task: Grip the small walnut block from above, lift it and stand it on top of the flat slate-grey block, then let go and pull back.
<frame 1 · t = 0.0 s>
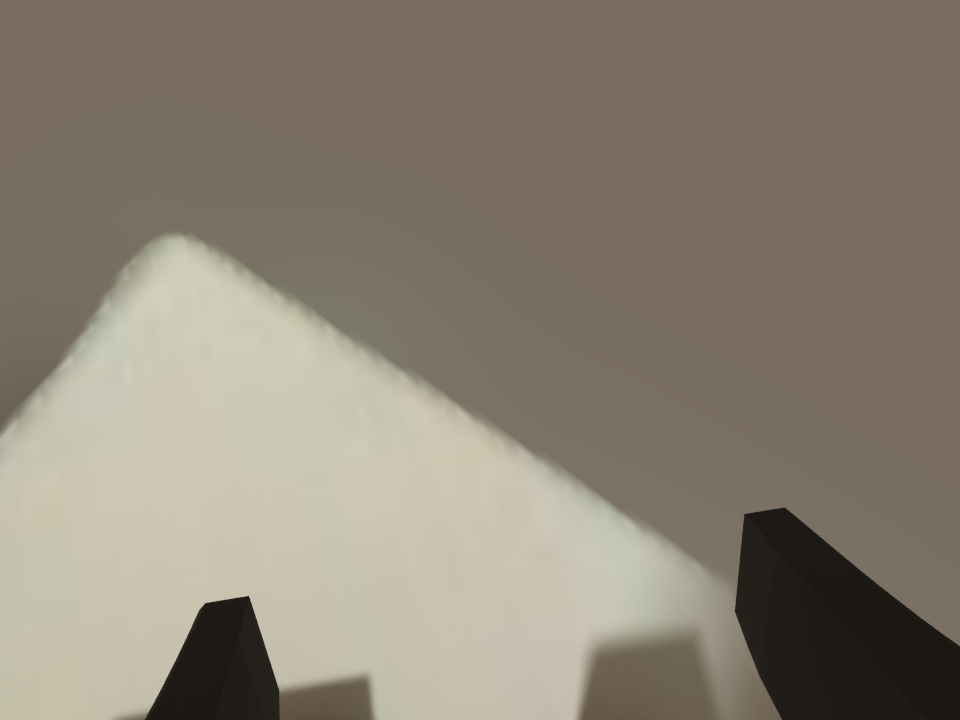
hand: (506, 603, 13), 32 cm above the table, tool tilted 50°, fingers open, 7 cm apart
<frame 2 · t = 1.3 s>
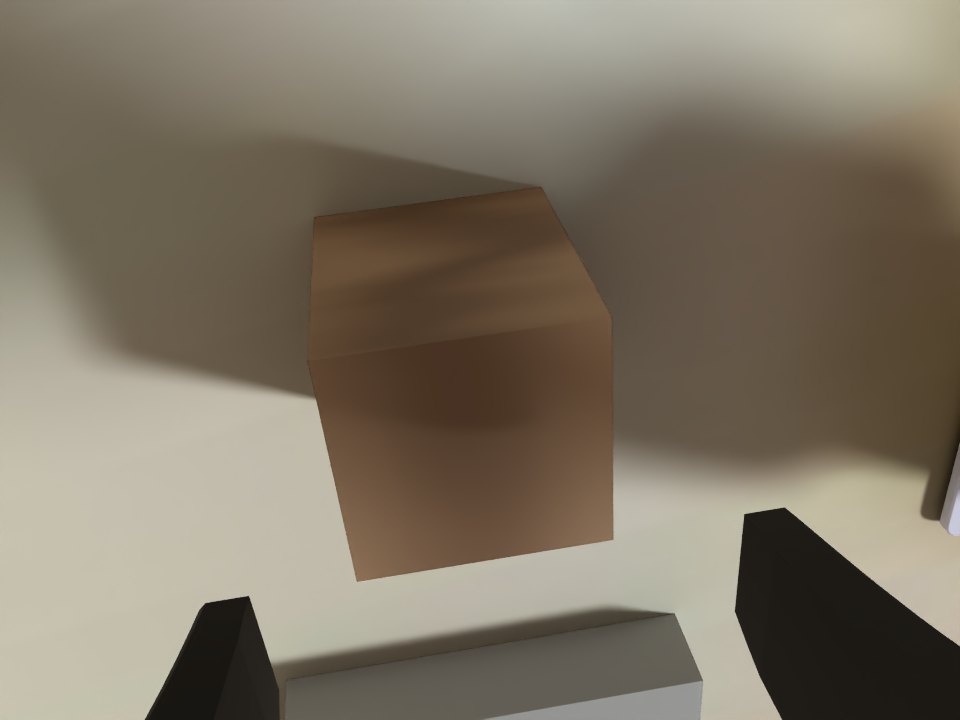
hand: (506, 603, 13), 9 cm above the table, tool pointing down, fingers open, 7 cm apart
walnut block: (440, 301, 21), on the table
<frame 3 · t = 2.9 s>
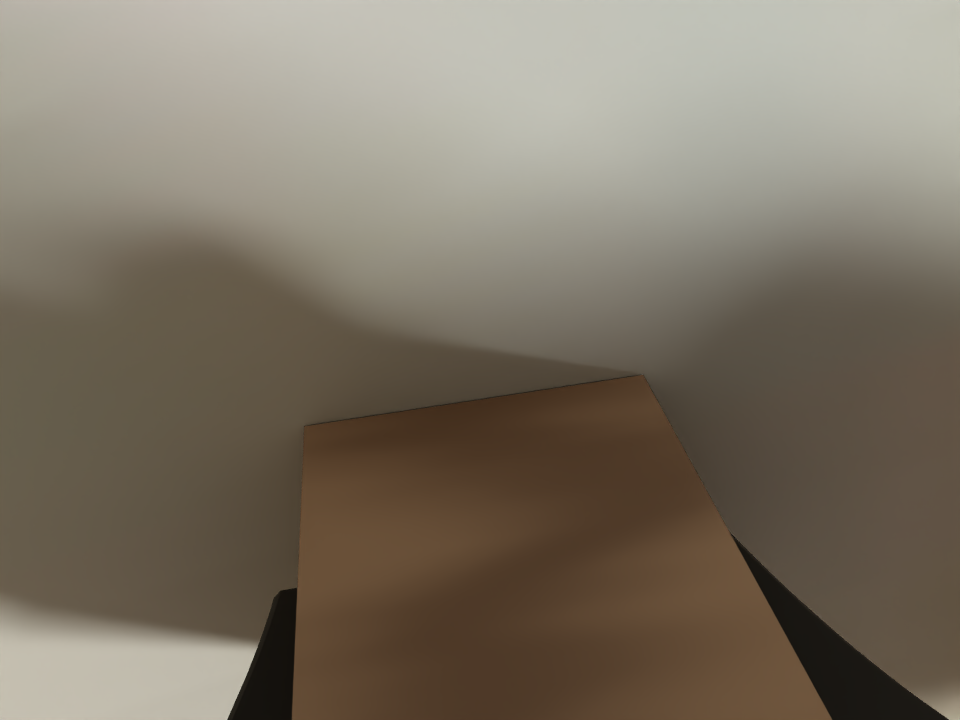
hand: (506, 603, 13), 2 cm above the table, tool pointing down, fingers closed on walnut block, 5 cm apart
walnut block: (489, 527, 14), on the table, touching gripper
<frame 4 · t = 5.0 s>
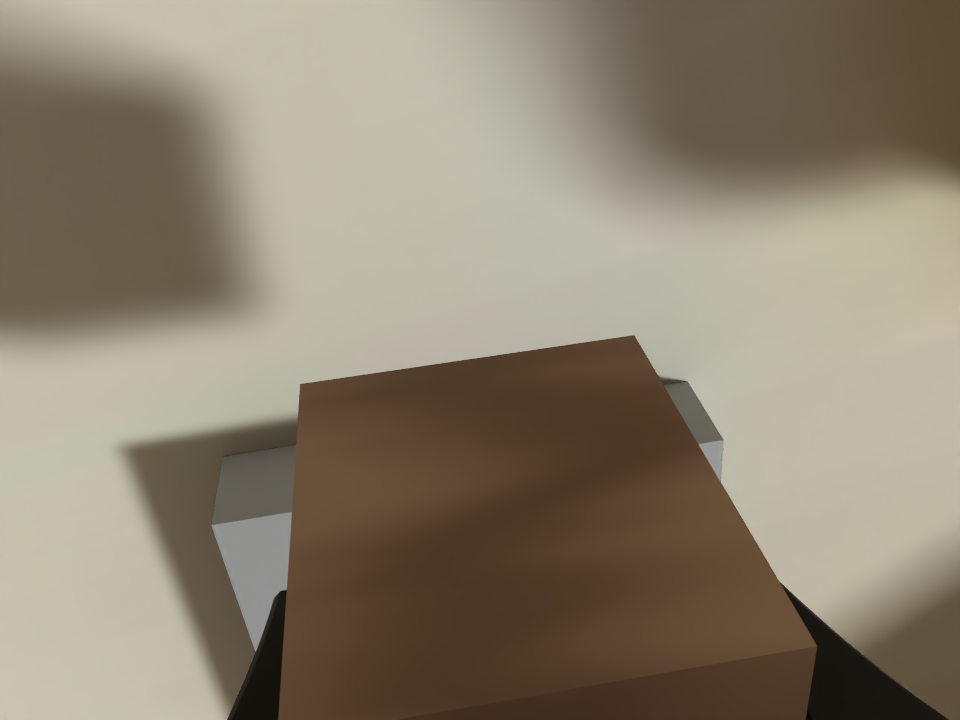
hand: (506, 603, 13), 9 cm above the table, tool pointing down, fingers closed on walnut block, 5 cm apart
slate block: (479, 572, 26), on the table
walnut block: (483, 490, 15), point 7 cm above the table, touching gripper
when the fingers open (6 cm above the table, at t = 7.1 s): walnut block drops 1 cm, resting on slate block.
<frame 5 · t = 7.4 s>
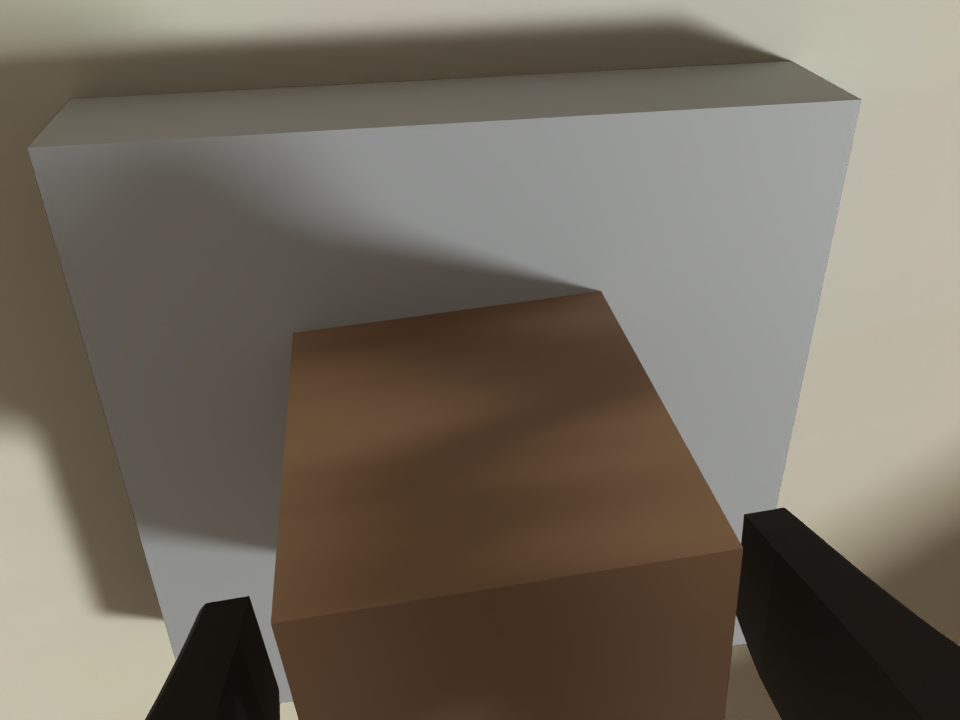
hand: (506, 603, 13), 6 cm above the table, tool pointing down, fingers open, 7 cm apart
slate block: (454, 366, 19), on the table, touching walnut block
walnut block: (462, 435, 16), point 2 cm above the table, touching slate block
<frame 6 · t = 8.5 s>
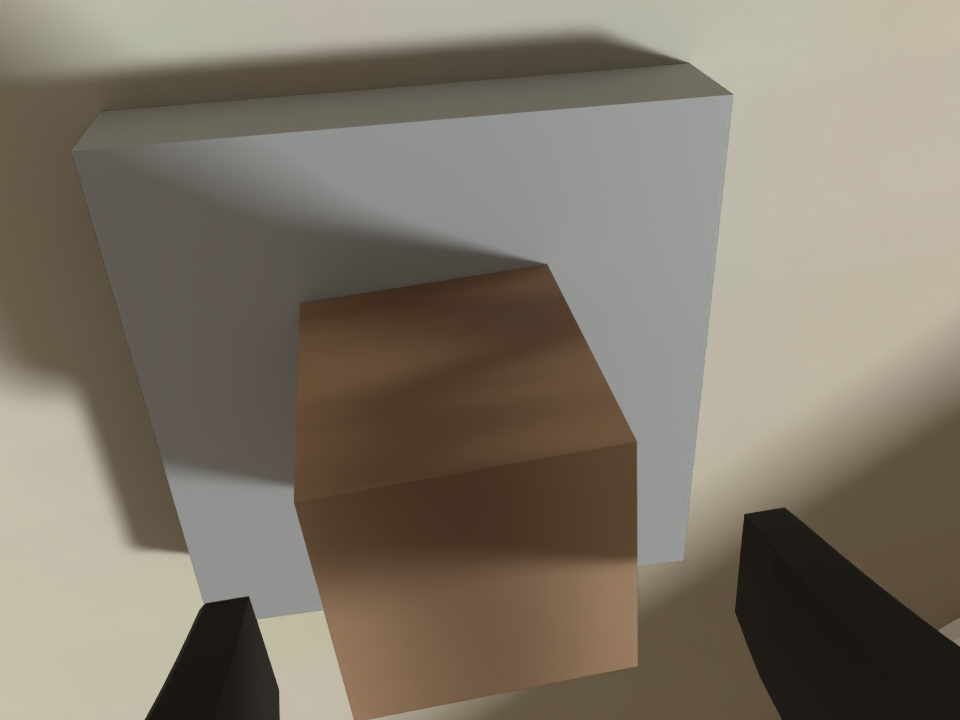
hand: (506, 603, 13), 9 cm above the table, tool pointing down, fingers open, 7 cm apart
slate block: (424, 327, 22), on the table, touching walnut block
walnut block: (440, 386, 19), point 2 cm above the table, touching slate block
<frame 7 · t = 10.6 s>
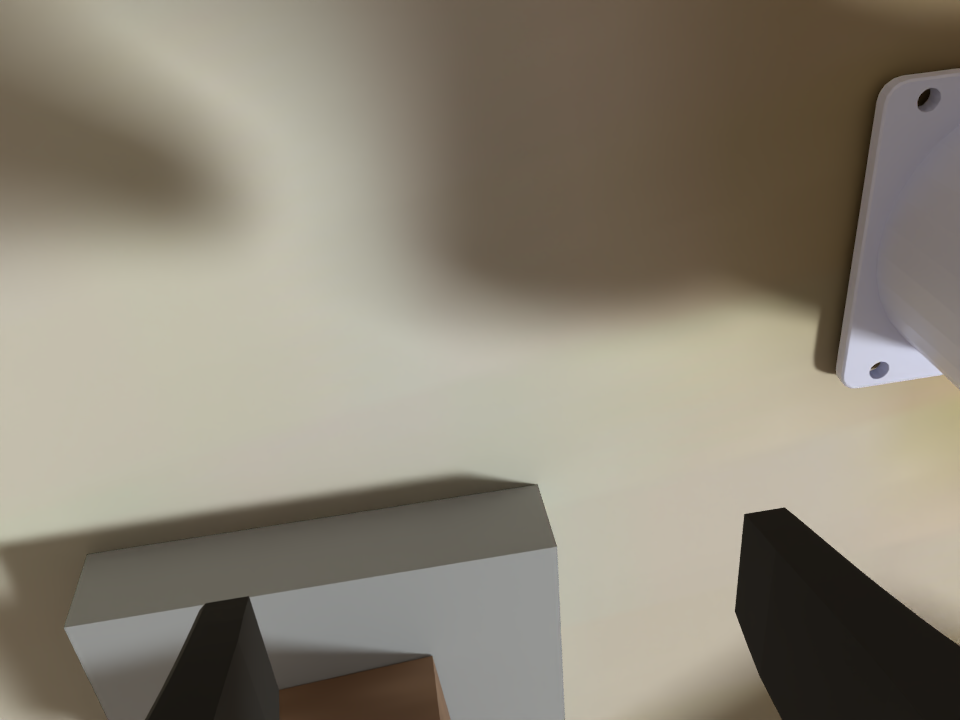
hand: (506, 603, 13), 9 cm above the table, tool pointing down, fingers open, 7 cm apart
slate block: (351, 652, 28), on the table, touching walnut block
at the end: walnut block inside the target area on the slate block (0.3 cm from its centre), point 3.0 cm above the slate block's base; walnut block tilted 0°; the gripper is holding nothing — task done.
